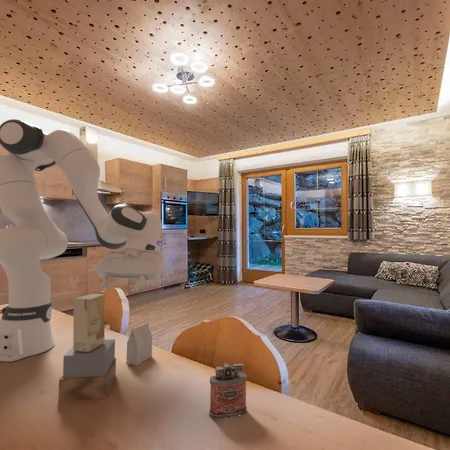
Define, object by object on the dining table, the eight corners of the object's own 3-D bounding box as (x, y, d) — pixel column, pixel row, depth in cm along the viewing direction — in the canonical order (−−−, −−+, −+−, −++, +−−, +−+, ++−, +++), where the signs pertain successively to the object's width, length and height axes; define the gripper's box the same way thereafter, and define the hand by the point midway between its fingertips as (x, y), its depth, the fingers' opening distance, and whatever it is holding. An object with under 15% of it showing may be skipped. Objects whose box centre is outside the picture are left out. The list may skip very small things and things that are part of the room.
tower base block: (58, 402, 63) (59, 379, 63) (74, 379, 72) (75, 359, 73) (105, 399, 64) (106, 376, 64) (115, 377, 74) (116, 357, 74)
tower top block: (62, 378, 63) (63, 355, 64) (77, 360, 72) (78, 340, 73) (104, 376, 65) (105, 353, 65) (114, 358, 74) (115, 339, 74)
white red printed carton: (151, 356, 86) (152, 323, 86) (136, 365, 80) (137, 330, 80) (142, 354, 88) (142, 321, 88) (126, 363, 81) (127, 328, 82)
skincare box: (89, 352, 65) (88, 299, 65) (72, 351, 66) (72, 299, 66) (105, 342, 71) (105, 293, 72) (90, 341, 72) (90, 293, 72)
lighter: (211, 421, 57) (212, 371, 57) (207, 411, 60) (208, 363, 60) (248, 415, 59) (249, 366, 59) (243, 405, 62) (244, 359, 62)
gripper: (103, 245, 90) (81, 281, 80) (163, 246, 86) (148, 284, 76) (111, 258, 95) (91, 293, 85) (169, 260, 91) (155, 297, 81)
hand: (119, 289), depth 81 cm, fingers open, 8 cm apart
